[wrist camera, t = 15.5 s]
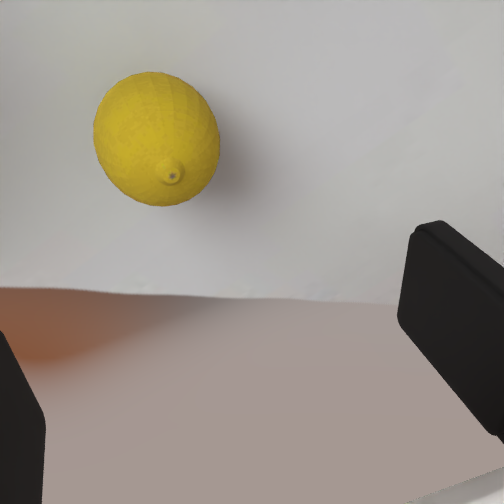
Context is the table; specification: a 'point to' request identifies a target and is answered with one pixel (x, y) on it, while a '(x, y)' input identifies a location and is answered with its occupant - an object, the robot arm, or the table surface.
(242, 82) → the table surface
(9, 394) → the robot arm
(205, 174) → the lemon
